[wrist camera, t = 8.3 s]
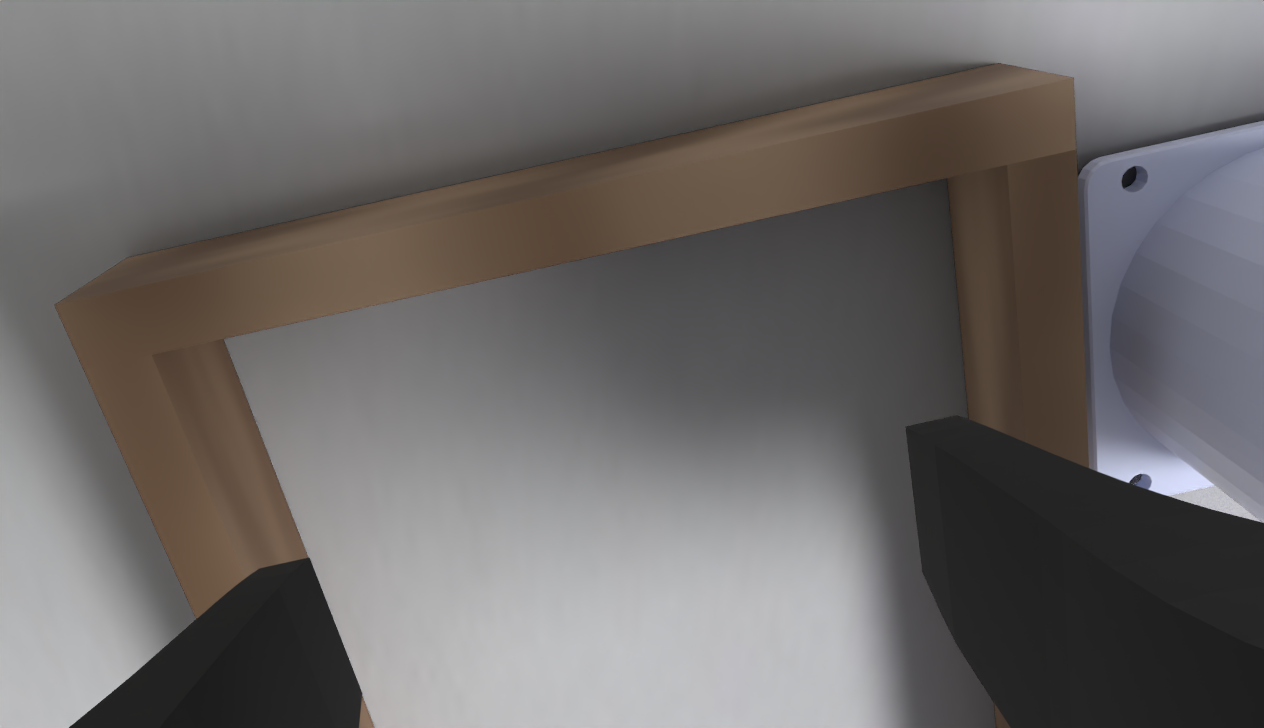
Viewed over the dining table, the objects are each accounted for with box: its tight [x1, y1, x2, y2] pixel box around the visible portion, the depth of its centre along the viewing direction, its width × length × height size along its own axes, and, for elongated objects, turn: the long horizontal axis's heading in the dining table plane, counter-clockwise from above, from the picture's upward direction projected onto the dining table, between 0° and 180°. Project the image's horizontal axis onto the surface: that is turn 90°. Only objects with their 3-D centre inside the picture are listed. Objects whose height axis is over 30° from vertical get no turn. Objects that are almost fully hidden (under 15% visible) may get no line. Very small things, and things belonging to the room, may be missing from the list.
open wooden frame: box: [55, 63, 1089, 728], centre depth 21 cm, size 17×18×3 cm
